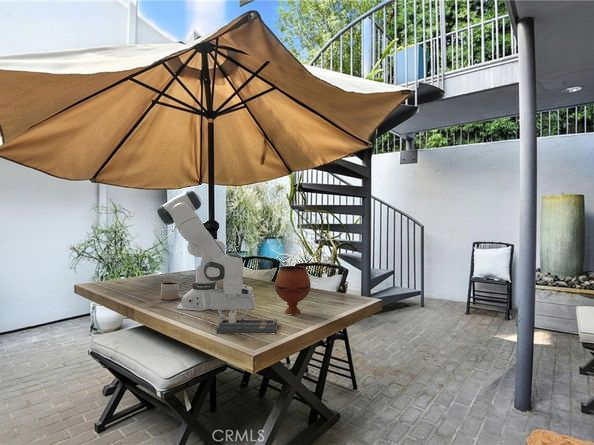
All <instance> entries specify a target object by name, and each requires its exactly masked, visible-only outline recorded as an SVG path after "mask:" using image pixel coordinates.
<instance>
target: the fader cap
mask: <svg viewBox="0 0 594 445" xmlns="http://www.w3.org/2000/svg"><path fill="white" fill-rule="evenodd" d="M228 319H229V323H236V322H237V319H238V310H229V312H228Z"/></svg>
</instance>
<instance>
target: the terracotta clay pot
mask: <svg viewBox="0 0 594 445" xmlns="http://www.w3.org/2000/svg"><path fill="white" fill-rule="evenodd" d="M274 289H275V292H276V294H277V296H278V297H279V298H280V299H281V300H282V301H284V302H286V305H287V308H286V309H285V310H284V314H285V313H286V314H292V315H291V316H295V315H294V314H299V315H301V314H302V312H301V310H300V309H299V308H298V304H299V303H300V302H301V301H303V300H304V299H306V297H307V296H308V295H309V293H310V291H311V279H310V277H309V274H308V271H307V267H306V266H305V265H304V266H303V265H282V266H279V270H278V273H277V276H276V278H275V282H274ZM300 313H301V314H300ZM286 314H285V315H286Z"/></svg>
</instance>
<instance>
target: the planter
mask: <svg viewBox="0 0 594 445" xmlns="http://www.w3.org/2000/svg"><path fill="white" fill-rule="evenodd" d="M179 297H180V283H179V282H178V281H165V282H160V299H161V300H163V301H171V300H172V301H174V300H176V299H179Z"/></svg>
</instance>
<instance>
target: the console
mask: <svg viewBox="0 0 594 445" xmlns="http://www.w3.org/2000/svg"><path fill="white" fill-rule="evenodd" d="M277 327H278V319H276V318H273V319H266V318H265V319H262V318H261V319H258V318H257V319H253V318H252V319H251V318H249V319H247V318H245V320H241V318H237V322H236V323H229V318H225V317H224V319H220V321H219V322H218V325H217V326H216V327H215V328H216V331H215V333H216V334H225V333H276V334H277V329H278V328H277ZM276 328H277V329H276Z"/></svg>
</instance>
